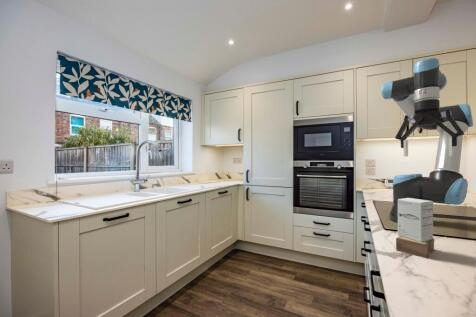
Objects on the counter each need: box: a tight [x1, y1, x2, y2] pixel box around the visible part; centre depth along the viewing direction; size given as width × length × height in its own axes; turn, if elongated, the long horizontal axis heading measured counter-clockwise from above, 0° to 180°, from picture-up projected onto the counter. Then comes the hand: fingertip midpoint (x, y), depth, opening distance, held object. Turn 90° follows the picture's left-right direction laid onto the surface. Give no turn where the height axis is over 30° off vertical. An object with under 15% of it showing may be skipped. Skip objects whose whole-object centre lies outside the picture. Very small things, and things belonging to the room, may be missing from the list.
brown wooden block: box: [395, 236, 435, 259], centre depth 77 cm, size 10×8×4 cm
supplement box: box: [397, 198, 434, 242], centre depth 77 cm, size 7×7×13 cm
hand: (427, 156), depth 88 cm, fingers open, 13 cm apart
